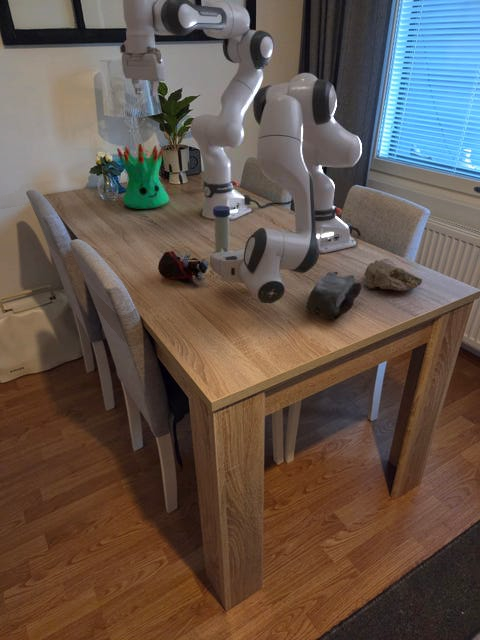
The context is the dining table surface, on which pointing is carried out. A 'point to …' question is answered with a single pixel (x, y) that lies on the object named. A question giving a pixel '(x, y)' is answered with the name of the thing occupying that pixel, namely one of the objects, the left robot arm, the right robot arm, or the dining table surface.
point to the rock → (333, 295)
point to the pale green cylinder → (221, 233)
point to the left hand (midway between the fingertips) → (146, 95)
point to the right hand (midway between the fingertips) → (238, 249)
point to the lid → (221, 211)
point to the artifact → (389, 276)
